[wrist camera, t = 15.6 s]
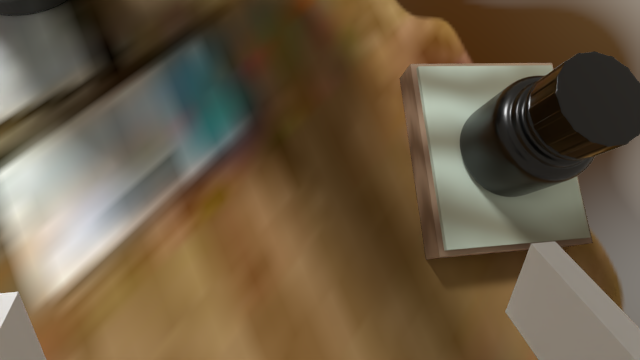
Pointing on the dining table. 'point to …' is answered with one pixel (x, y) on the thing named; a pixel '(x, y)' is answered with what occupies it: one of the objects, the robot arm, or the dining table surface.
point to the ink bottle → (551, 125)
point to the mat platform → (457, 183)
